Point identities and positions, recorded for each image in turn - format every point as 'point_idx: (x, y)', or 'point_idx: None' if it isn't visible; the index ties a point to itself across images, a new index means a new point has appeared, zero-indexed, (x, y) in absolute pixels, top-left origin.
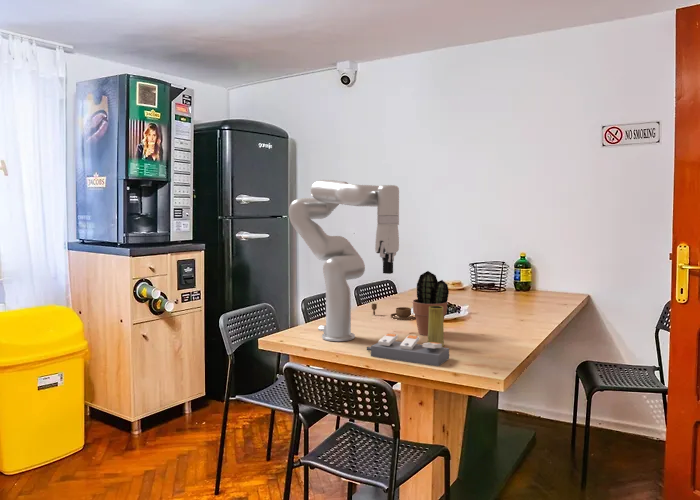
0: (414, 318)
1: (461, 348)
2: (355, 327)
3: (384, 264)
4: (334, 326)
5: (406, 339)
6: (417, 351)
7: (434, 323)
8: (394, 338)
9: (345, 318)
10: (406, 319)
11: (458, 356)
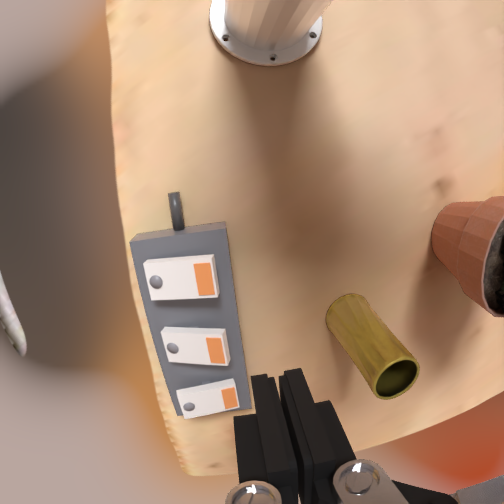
0: None
1: (351, 368)
2: (407, 9)
3: (240, 471)
4: (226, 8)
5: (196, 339)
6: (171, 372)
7: (352, 358)
8: (192, 297)
9: (262, 23)
10: None
11: None
